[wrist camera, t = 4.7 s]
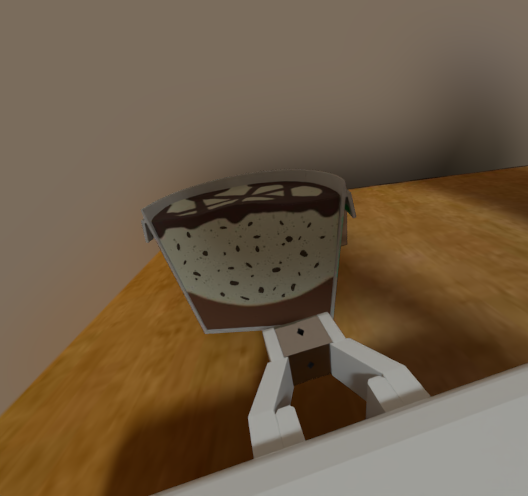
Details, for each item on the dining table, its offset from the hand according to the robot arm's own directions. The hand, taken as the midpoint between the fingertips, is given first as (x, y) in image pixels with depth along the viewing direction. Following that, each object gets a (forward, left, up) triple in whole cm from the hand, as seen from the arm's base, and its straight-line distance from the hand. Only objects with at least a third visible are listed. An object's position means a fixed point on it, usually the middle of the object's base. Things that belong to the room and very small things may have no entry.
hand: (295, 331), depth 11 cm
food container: (0, -8, -5) cm, 10 cm away
